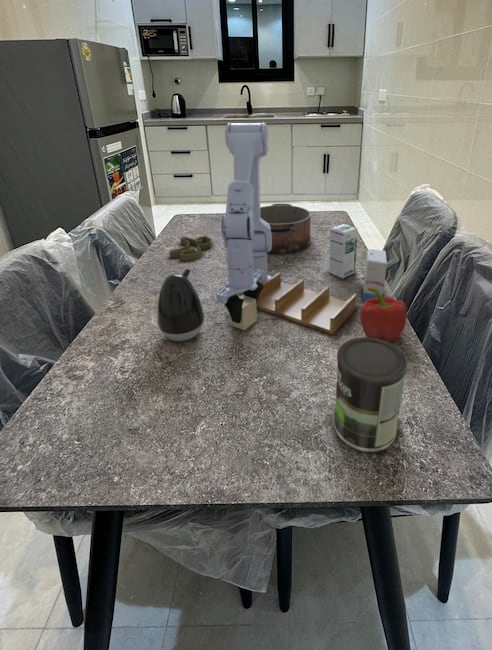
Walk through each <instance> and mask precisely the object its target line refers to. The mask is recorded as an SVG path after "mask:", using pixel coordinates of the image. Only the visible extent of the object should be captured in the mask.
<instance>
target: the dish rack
mask: <svg viewBox="0 0 492 650" xmlns="http://www.w3.org/2000/svg"><path fill="white" fill-rule="evenodd" d="M262 284H263V289H262V291H261V293H260V295H259V298H258V301H257V305H256V309H258V310H261V311H264V312H267V313H270V314H271V315H272V314H273V315H275V316H278V317H281V318H283V319H286V320H289V321H293V322H295V323H298V324H300V325H303V326H306V327H309V328H312V329H314V330H318V331H321V332H323V333H325V334H329V335H332V336H333V335H334V334H335V333H336V332H337V331H338V329H339V328H340V327H341V326H342V325H343V324H344V323H345V322H346V321H347V320H348V318H350V316H351V315H352V314H353V313H354V312H355V311H356V310H357V308H358V303H357V295H358V294H356V293H353V294H352V295H351V296H350V297H349V298H348V299H347V300H344V299H340V298H337V297H334V296H332V295H330V286H329V285H327V286H325V287H324V288H323V289H322V290H321V291H319V292H318V291H314V290H310V289H308V288H305V279H302V278H301V279H300V280H299V281H297V282H295V283H294V284H290V283H287V282H283V281H282V273H281V272H277V273H276V274H273V276H272V277H271V278H270V279H268V280H267V281H265V282H264V283H262Z"/></svg>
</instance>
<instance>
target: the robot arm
mask: <svg viewBox="0 0 492 650" xmlns="http://www.w3.org/2000/svg"><path fill="white" fill-rule="evenodd" d="M224 139H225V145H226V147H227V149H228V152H229V153H230V154H231V155H232V156H233V181H232V182H230V183H229V184H228V186H227V194H226V195H227V198H226V205H225V214H223V215H222V216H221V220H220V231H221V237H222V239H223V246H224V248H225V249H226V261H227V263H226V264H227V274H228V275H227V277H228V282H227V283H226V284H225V285H224V286H223V288H222V289H221V290H220V291H219V292H218V293H216V300H217V301H216V302H218V303H220V304H222V305H224V306H225V307H226V309H227V312H228V313H229V317H230V320H231V319H232V321H233V322H236V323H238V324H239V323H240V322H241V310H242V305H243V302H244V299H241V298H239V297H240V296H239V295H238V294H242V293H243V295H245V296H248V297H251V298H254V299H256V305H257V301H258V298H259V295H260V293H261V291H262V289H263V284H262V283H264V282H265V281H267V280H268V279H270V278H271V277H273V276H272V275H269V274H268V273H269V272H268V253H267V252H270V251H271V246H272V235H271V227H270V225H269V224H268V223H267V222H266V221H264V220H263V219H262V218H261V214H260V207H261V185H260V184H261V181H260V163H261V159H262V158H263V157H265V156H267V155H268V152H269V130H268V125H267V123H266V122H265V121H263V122H243V123H241V122H240V123H239V122H237V123H234V122H233V123H232V122H227V124H226V125H225V129H224Z"/></svg>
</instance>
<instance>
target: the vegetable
mask: <svg viewBox="0 0 492 650" xmlns="http://www.w3.org/2000/svg"><path fill="white" fill-rule="evenodd" d="M368 290H370V291H372V292H373V291H374V292H375V293H376V295H377V297H378V298H375V297H374V298H370V299H368V300H366V301H365V302H364V301H363V304H362V306H361V307H360V310H359V314H360V315H359V318H360V325H361V328H362V330H363V332H364V334H365V335H366V337H370V338H377V339H381V340H384V341H387V342H389V343H391V342H394V341H396V340H397V339H398V338H400V336H401V335H402V332H403V331H404V329H405V326H406V324H407V315H408V314H407V313H408V311H407V310H408V308H407V305H406V303H405V302H404V301H402V300H398V299H395V298H393V297H390V296H385V297H384V296H383V297H382V295H381V293H380V292H379V291H378V290H377V289H376V288H373V287H370V288H368Z"/></svg>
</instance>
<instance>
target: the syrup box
mask: <svg viewBox="0 0 492 650" xmlns="http://www.w3.org/2000/svg"><path fill="white" fill-rule="evenodd" d="M357 245H358V228H357V227H356V226H353V225H350V224H345V223H342V224H340V225H336V226H334V227H330V228H329V248H328V249H329V252H328V254H329V256H328V273H330V274H331V275H334V276H335V277H338V278H340V279H344V278H346V277H349V276H351V275H353V274H355V273H356V261H357Z"/></svg>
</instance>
